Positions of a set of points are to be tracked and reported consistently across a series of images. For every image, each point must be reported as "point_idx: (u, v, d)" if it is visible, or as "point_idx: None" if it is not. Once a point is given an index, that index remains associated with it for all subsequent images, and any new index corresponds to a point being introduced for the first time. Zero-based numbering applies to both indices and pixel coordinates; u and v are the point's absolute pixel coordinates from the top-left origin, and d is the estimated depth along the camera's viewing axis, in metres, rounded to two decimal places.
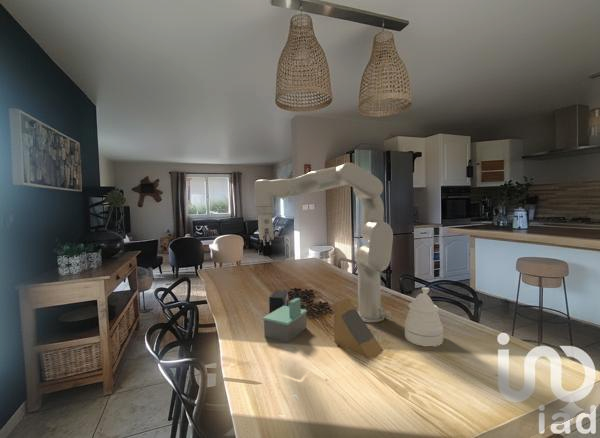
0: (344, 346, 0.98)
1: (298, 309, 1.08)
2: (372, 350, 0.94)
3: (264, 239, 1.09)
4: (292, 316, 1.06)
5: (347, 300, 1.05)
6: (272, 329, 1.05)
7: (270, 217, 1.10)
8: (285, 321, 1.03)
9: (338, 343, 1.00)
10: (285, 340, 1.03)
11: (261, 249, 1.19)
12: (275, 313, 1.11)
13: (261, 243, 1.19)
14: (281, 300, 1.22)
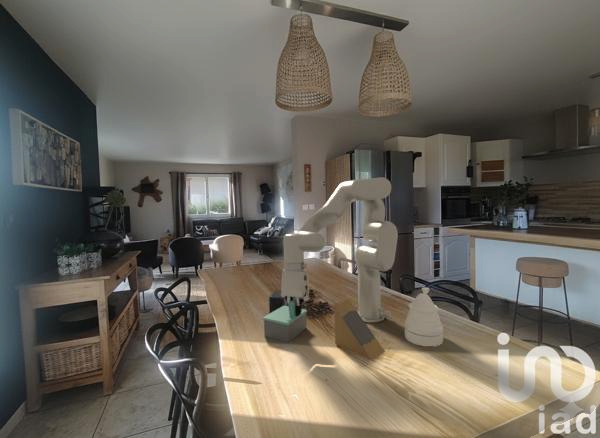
0: (346, 347, 0.97)
1: None
2: (375, 351, 0.93)
3: (299, 299, 1.06)
4: (292, 316, 1.06)
5: (347, 301, 1.04)
6: (272, 329, 1.05)
7: (306, 273, 1.06)
8: (285, 321, 1.03)
9: (339, 345, 0.99)
10: (285, 340, 1.03)
11: None
12: (275, 313, 1.11)
13: None
14: (281, 300, 1.22)
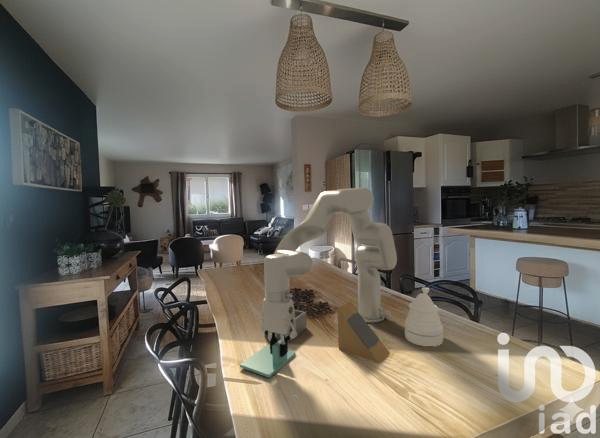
0: (351, 351, 0.94)
1: None
2: (381, 354, 0.91)
3: (284, 336, 0.85)
4: (276, 364, 0.85)
5: (349, 304, 1.01)
6: None
7: (292, 303, 0.86)
8: (266, 372, 0.83)
9: (343, 349, 0.96)
10: None
11: None
12: (256, 357, 0.90)
13: (272, 342, 0.88)
14: None
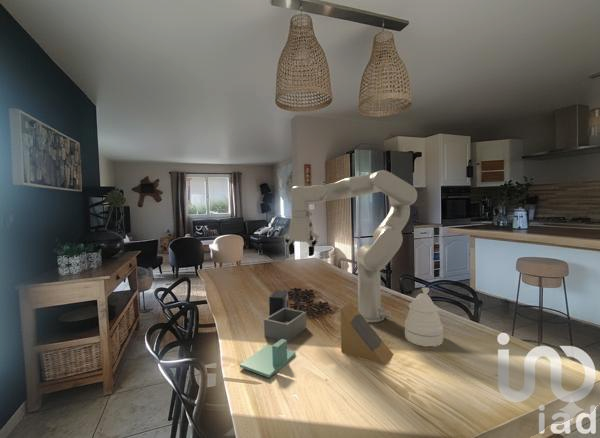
0: (354, 354, 0.93)
1: (284, 354, 0.88)
2: (385, 355, 0.90)
3: (310, 241, 1.19)
4: (276, 364, 0.85)
5: (351, 305, 1.00)
6: (272, 329, 1.05)
7: (311, 220, 1.21)
8: (266, 372, 0.83)
9: (346, 351, 0.94)
10: None
11: (291, 252, 1.24)
12: (256, 357, 0.90)
13: (291, 246, 1.24)
14: (281, 300, 1.22)
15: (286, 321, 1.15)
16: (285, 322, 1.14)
